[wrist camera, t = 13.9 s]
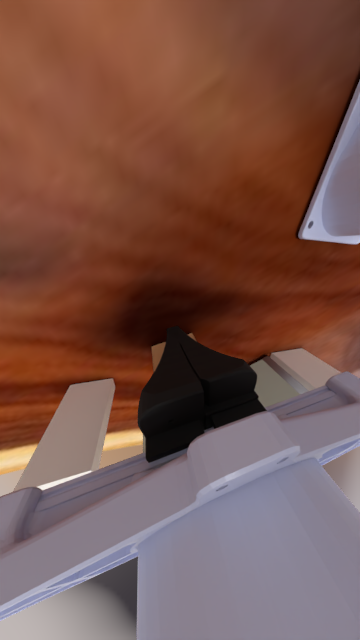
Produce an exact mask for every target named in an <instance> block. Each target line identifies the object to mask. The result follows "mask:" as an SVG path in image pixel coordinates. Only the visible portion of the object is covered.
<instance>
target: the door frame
mask: <svg viewBox="0 0 360 640" xmlns="http://www.w3.org/2000/svg"><path fill="white" fill-rule="evenodd" d="M270 358H271V359H272V360H273V361H275V362H276V363H277V364H278V365H279V366H280V367H282V368H283V369H284V370H285V371H286V372H287V373H289V374H290V375H291V376H292V377H293V378H295V379H296V380H297V381H298V382H299V383H300V384H302V385H303V386H304V387H305V388H306V389H307V390H309V391H311V390H314V389H316V388H319V387H322V386H325V383H326V382H327V380H328V379H329V378H331V377H332V376H335V375H337V374H340V373H341V372H339V371H338V370H336V369H335V368H333V367H331V366H330V365H328V364H327V363H325V362H323V361H322V360H320V359H319V358H317V357H315V356H314V355H312V354H311V353H309V352H307V351H306V350H304V349H303V348H300V349H294V350H287V351H281V352H275V353H272V354H271V356H270ZM114 391H115V384H114V381H113V378H111V379H105V380H98V381H92V382H86V383H79V384H73V385H70V387H69V388H68V390H67V392H66V394H65V396H64V398H63V400H62V401H61V403H60V405H59V407H58V409H57V411H56V413H55V415H54V416H53V418H52V420H51V422H50V424H49V426H48V428H47V429H46V431H45V433H44V435H43V437H42V439H41V441H40V442H39V444H38V446H37V448H36V450H35V452H34V454H33V456H32V457H31V459H30V461H29V463H28V465H27V467H26V469H25V470H24V472H23V474H22V476H21V478H20V480H19V482H18V483H17V485H16V487H15V489H14V491H13V492H15V491H17V490H20V489H23V488H27V487H38V488H40V489H41V490H45V489H48V488H50V487H53V486H56V485H58V484H61V483H64V482H66V481H69V480H72V479H75V478H77V477H80V476H83V475H85V474H88V473H91V472H93V471H96V470H99V465H100V460H101V455H102V450H103V445H104V440H105V435H106V430H107V425H108V420H109V415H110V411H111V406H112V401H113V396H114Z"/></svg>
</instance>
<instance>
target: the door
mask: <svg viewBox="0 0 360 640" xmlns="http://www.w3.org/2000/svg"><path fill="white" fill-rule="evenodd" d="M250 367H251V368H252V369H253V370H254V371H255V372H256V374H257V382H256V386H255V389H254V391H255V392H256V393H257V395H258V396H259V398H258V400H259V401H260V402H261V404H262V405H263V406H264V408H265V407H268V406H271V405H273V404H276V403H279V402H282V401H284V400H287V399H290V398H292V397H295V396H298V395H300V394H303V393H306V392H308V391H309V390H307V389H306V388H305V387H304V386H303V385H302V384H300V383H299V382H298V381H297V380H296V379H295V378H293V377H292V376H291V375H290V374H289V373H287V372H286V371H285V370H284V369H283V368H282V367H280V366H279V365H278V364H277V363H276V362H275V361H273V360H272V359H271V358H270V357H269V356H266V357H264V358H263V359H262V360H260V361H258V362H256V363H254V364H252V365H250ZM144 452H146V446H145V436H144V435H143V453H144Z"/></svg>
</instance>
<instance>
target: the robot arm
mask: <svg viewBox="0 0 360 640" xmlns="http://www.w3.org/2000/svg"><path fill="white" fill-rule="evenodd" d="M298 237H299V238H300V239H305V240H315V241H324V242H334V243H343V244H358V243H360V80H359V83H358V85H357V88H356V90H355V93H354V95H353V98H352V100H351V103H350V105H349V108H348V110H347V113H346V115H345V118H344V120H343V123H342V125H341V128H340V130H339V133H338V136H337V138H336V141H335V143H334V146H333V148H332V151H331V153H330V156H329V158H328V161H327V163H326V166H325V168H324V171H323V173H322V176H321V178H320V181H319V183H318V186H317V188H316V191H315V193H314V196H313V198H312V201H311V203H310V206H309V208H308V211H307V213H306V216H305V218H304V221H303V223H302V226H301V228H300V231H299V234H298ZM256 382H257V374H256V372H255V371H254V370H253V369H252V368H251V367H250V366H249V365H248V364H247V363H246V362H245V361H244V360H242V359H238V358H235V357H231V356H227V355H224V354H221V353H219V352H216V351H214V350H212V349H209V348H207V347H205V346H203V345H201V344H200V343H198V342H197V341H195V340H194V339H192V338H191V337H190V336H188V335H187V334H186V333H185V332H184V331H182V330H181V329H180V328H179V327H178V326H175V327H171V328H167V338H166V344H165V348H164V351H163V354H162V357H161V359H160V362H159V364H158V366H157V368H156V370H155V371H154V373H153V375H152V377H151V378H150V380H149V381H148V383H147V384H146V386H145V387H144V388H143V390H142V393H141V397H140V401H139V408H138V426H139V428H140V430H141V431H142V433H143V435H144V436H145V446H146V452H144V453H142V454H139V455H137V456H134V457H131V458H128V459H126V460H123V461H121V462H118V463H115V464H112V465H109V466H107V467H104V468H102V469H99V470H96V471H93V472H91V473H88V474H85V475H83V476H80V477H77V478H75V479H72V480H69V481H66V482H64V483H61V484H58V485H56V486H53V487H50V488H48V489H45V490H41V489H40V488H38V487H27V488H23V489H20V490H17V491H15V492H12V493H9V494H6V495H4V496H1V497H0V621H1V620H3V619H5V618H7V617H9V616H11V615H13V614H15V613H18V612H20V611H22V610H24V609H25V608H28V607H30V606H32V605H34V604H36V603H39V602H40V601H43V600H45V599H47V598H49V597H51V596H53V595H56V594H58V593H60V592H62V591H64V590H66V589H68V588H71V587H73V586H75V585H77V584H79V583H81V582H83V581H85V580H88V579H90V578H92V577H94V576H96V575H98V574H101V573H103V572H105V571H107V570H109V569H111V568H114V567H116V566H118V565H120V564H122V563H124V562H127V561H129V560H131V559H133V558H135V557H137V556H138V589H137V640H360V512H359V511H358V510H357V509H356V508H355V506H354V505H353V504H352V503H351V501H350V500H349V499H348V498H347V497H346V495H345V494H344V493H343V492H342V490H341V489H340V488H339V487H338V486H337V484H336V483H335V482H334V481H333V479H332V478H331V477H330V476H329V475H328V473H327V472H326V471H325V470H324V469H323V467H322V465H324V464H326V463H327V462H329V461H331V460H333V459H335V458H337V457H339V456H341V455H343V454H345V453H347V452H349V451H350V450H353V449H354V448H356V447H358V446H360V379H359V378H358V377H356V376H354V375H353V374H351V373H349V372H343V373H340V374H337V375H335V376H332V377H331V378H329V379H328V380H327V382H326V383H325V386H322V387H319V388H316V389H314V390H311V391H308V392H306V393H303V394H300V395H298V396H295V397H292V398H290V399H287V400H284V401H282V402H279V403H276V404H273V405H271V406H268V407H265V408H264V406H263V405H262V404H261V402H260V401H259V400H258V398H259V396H258V395H257V393H256V392H255V391H254V389H255V386H256Z"/></svg>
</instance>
